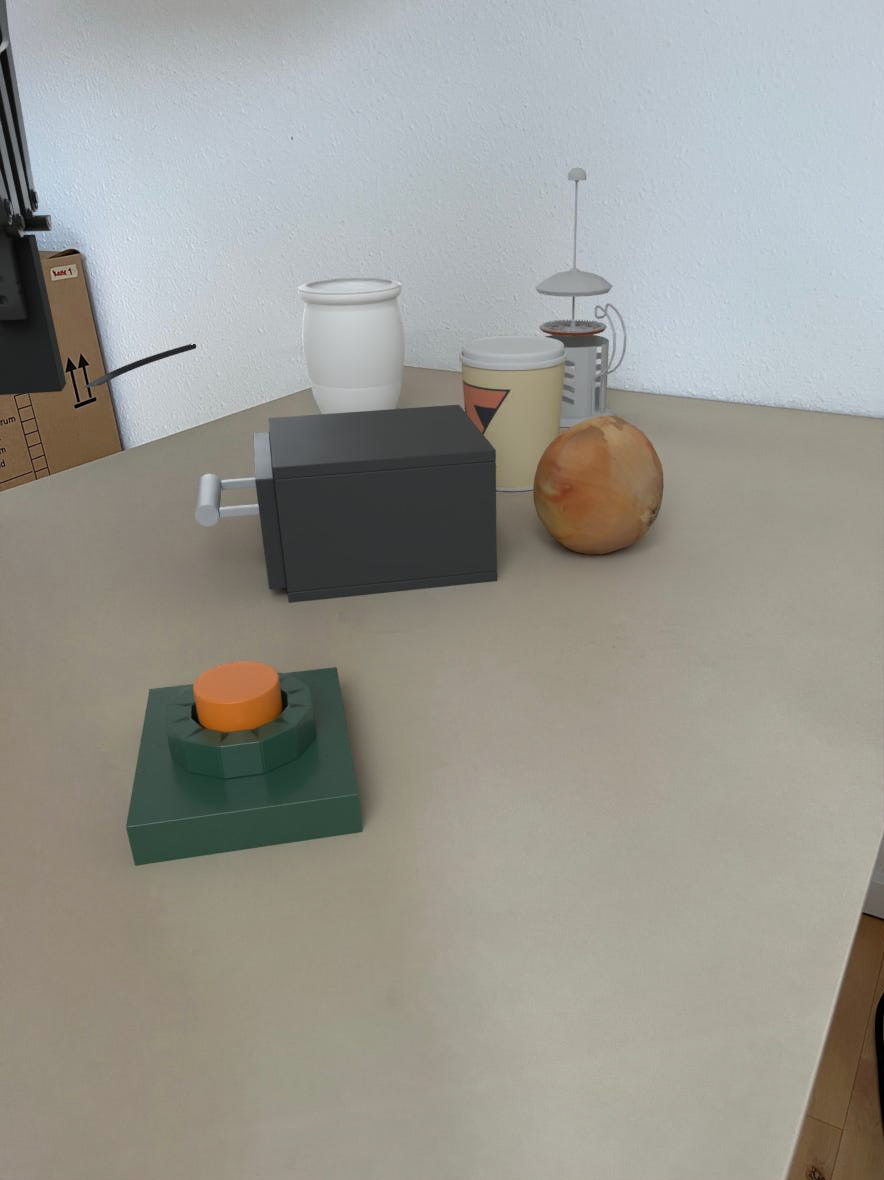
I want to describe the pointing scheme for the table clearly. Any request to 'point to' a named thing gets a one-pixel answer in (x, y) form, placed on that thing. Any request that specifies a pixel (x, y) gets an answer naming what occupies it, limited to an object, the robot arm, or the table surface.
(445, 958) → the table surface
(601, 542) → the onion
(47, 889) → the table surface
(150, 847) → the green button housing
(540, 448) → the coffee cup
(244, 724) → the button
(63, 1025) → the table surface
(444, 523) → the drawer cabinet
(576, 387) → the french press
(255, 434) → the pull-out drawer
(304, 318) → the jar
